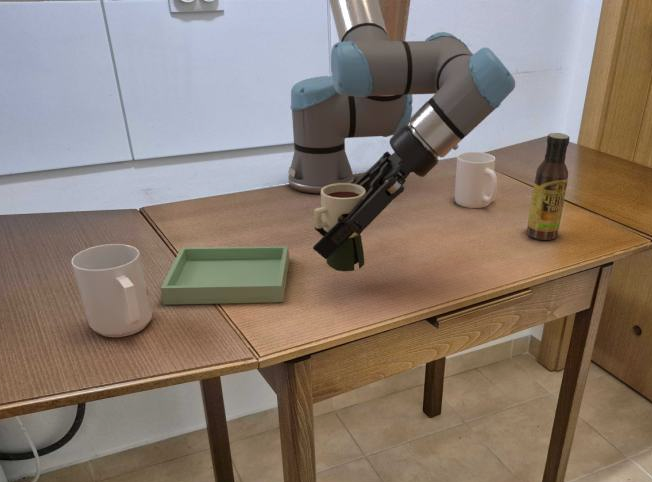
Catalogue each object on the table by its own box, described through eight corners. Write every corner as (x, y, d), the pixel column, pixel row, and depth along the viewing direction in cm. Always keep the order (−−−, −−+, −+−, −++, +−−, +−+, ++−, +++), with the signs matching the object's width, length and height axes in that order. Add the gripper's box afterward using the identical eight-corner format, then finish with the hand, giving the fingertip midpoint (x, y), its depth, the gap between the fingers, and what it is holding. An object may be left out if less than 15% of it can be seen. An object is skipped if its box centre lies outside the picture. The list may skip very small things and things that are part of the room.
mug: (81, 322, 96) (62, 254, 90) (140, 304, 101) (125, 238, 95) (111, 356, 89) (92, 284, 83) (173, 335, 94) (159, 266, 88)
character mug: (330, 283, 101) (326, 205, 94) (306, 267, 106) (300, 191, 98) (384, 264, 107) (385, 189, 100) (359, 249, 112) (358, 177, 104)
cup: (476, 193, 150) (480, 150, 144) (508, 210, 141) (514, 164, 136) (447, 199, 146) (449, 154, 141) (478, 216, 137) (482, 169, 132)
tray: (183, 262, 114) (181, 247, 113) (289, 261, 116) (288, 245, 115) (163, 304, 101) (160, 288, 100) (283, 302, 103) (281, 285, 101)
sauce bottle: (537, 243, 126) (552, 141, 115) (520, 232, 131) (533, 132, 120) (564, 239, 128) (581, 137, 118) (546, 228, 133) (561, 129, 122)
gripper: (449, 180, 90) (337, 286, 97) (432, 140, 106) (337, 233, 114) (413, 142, 86) (299, 254, 94) (401, 107, 103) (305, 204, 110)
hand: (320, 242), depth 104 cm, fingers closed on character mug, 7 cm apart
